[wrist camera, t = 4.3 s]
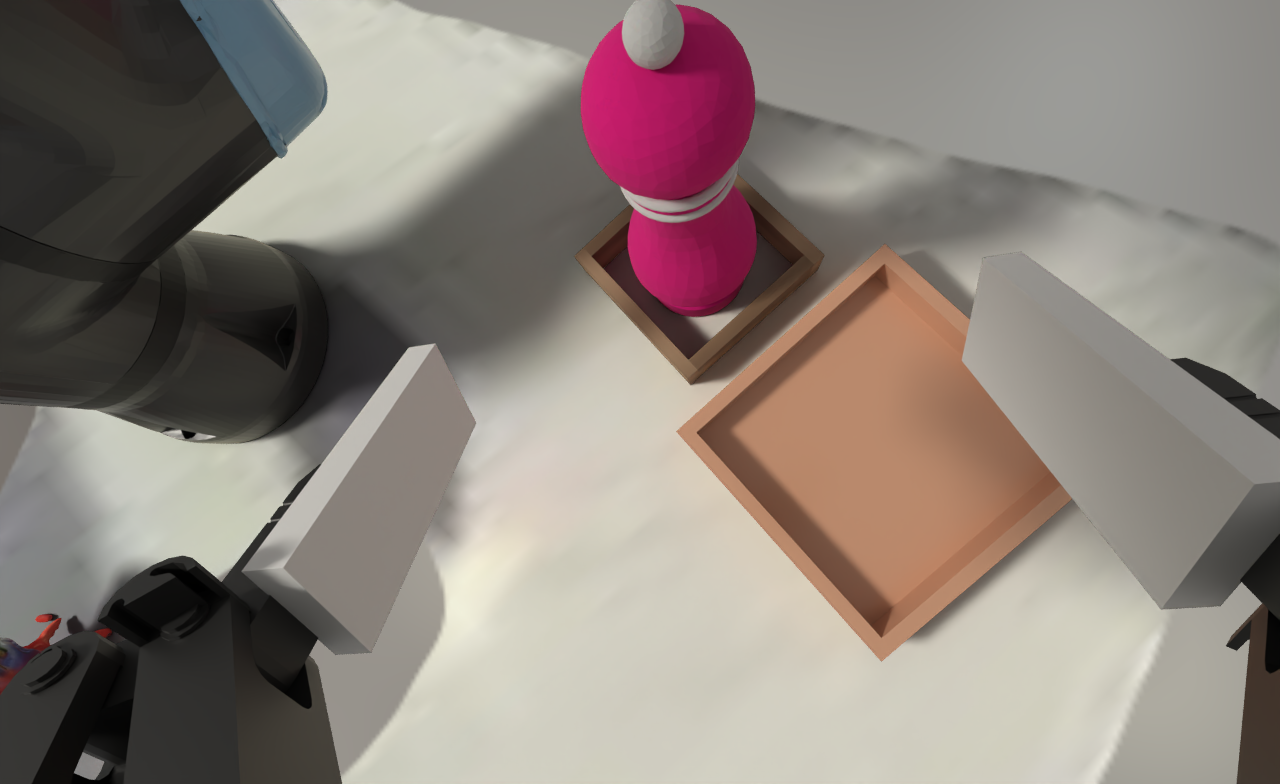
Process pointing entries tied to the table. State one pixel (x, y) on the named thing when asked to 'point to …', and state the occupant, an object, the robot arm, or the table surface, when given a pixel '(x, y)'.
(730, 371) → the table surface
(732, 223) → the pepper mill
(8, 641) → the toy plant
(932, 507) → the terracotta tray
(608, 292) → the small wooden tray
